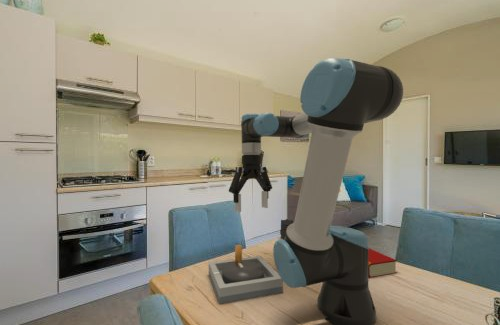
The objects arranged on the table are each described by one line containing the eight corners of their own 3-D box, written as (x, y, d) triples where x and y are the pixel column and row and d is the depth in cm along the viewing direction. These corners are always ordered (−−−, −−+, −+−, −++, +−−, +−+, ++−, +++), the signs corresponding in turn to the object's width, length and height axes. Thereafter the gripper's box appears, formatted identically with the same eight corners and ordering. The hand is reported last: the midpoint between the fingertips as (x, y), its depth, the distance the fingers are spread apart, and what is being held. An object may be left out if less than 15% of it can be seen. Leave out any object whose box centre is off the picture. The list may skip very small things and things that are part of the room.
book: (336, 259, 106) (336, 247, 106) (360, 256, 110) (360, 244, 110) (368, 278, 89) (368, 264, 89) (396, 273, 93) (396, 260, 93)
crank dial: (270, 282, 81) (270, 255, 81) (227, 289, 76) (227, 261, 76) (255, 265, 94) (255, 242, 94) (218, 270, 90) (218, 246, 90)
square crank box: (282, 292, 79) (282, 277, 79) (219, 304, 72) (219, 287, 72) (260, 267, 98) (260, 255, 98) (208, 274, 91) (208, 261, 91)
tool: (292, 240, 122) (293, 216, 115) (295, 274, 105) (296, 247, 98) (279, 240, 123) (280, 215, 116) (280, 273, 106) (281, 247, 99)
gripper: (267, 155, 109) (268, 205, 108) (219, 154, 93) (219, 212, 92) (280, 154, 103) (281, 206, 103) (231, 153, 87) (231, 214, 86)
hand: (251, 209), depth 97 cm, fingers open, 13 cm apart
